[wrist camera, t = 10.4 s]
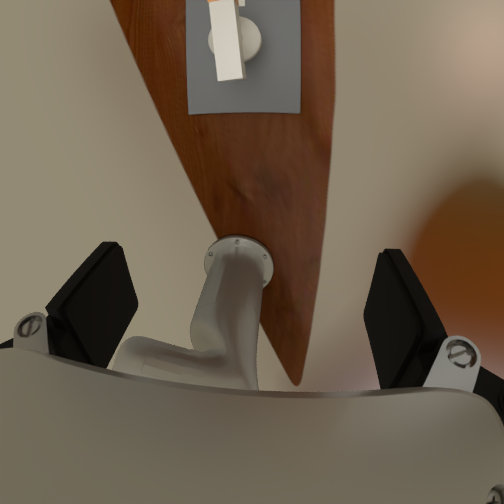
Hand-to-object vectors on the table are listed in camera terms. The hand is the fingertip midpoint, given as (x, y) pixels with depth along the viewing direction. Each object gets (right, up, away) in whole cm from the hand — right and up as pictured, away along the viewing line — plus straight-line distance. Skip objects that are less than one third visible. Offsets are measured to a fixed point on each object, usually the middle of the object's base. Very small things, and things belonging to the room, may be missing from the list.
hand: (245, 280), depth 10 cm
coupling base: (-1, +30, +24) cm, 38 cm away
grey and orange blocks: (-2, +27, +18) cm, 33 cm away
